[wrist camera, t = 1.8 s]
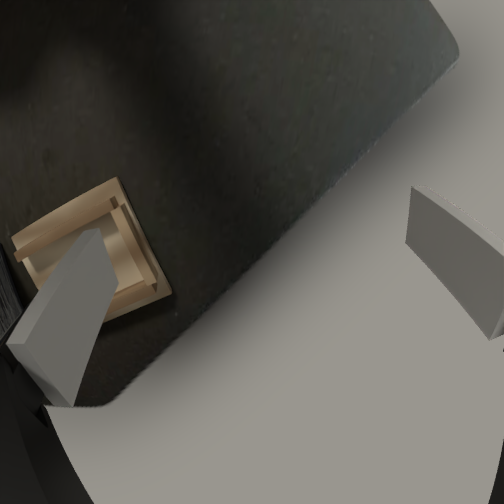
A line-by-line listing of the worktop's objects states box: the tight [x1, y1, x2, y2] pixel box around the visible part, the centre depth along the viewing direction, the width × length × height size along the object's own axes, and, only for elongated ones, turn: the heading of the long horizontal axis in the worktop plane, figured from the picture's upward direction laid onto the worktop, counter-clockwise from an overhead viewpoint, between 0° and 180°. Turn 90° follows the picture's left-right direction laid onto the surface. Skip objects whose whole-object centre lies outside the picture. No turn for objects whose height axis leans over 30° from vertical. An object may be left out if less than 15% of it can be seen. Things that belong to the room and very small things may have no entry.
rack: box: [11, 176, 172, 323], centre depth 33 cm, size 15×16×4 cm
